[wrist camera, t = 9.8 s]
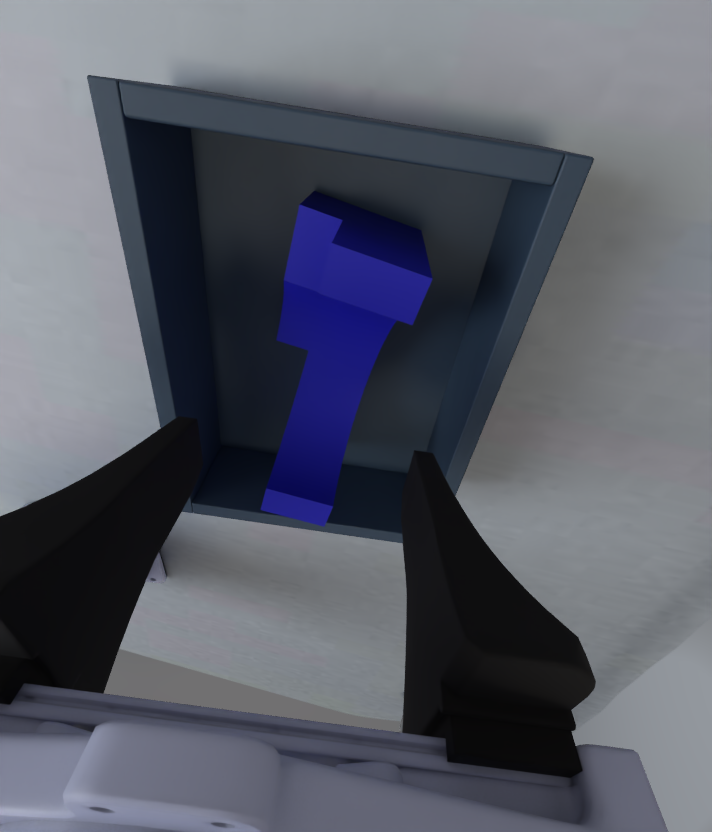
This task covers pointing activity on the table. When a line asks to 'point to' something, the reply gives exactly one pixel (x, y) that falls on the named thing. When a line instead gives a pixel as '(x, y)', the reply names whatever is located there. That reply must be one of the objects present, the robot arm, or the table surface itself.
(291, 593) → the table surface
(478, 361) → the desk bin
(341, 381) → the blue cradle bracket
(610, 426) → the table surface
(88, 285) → the table surface
